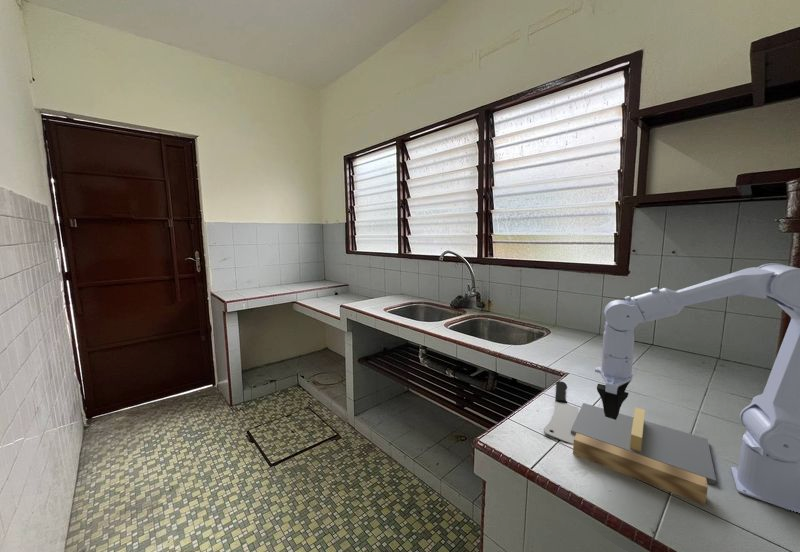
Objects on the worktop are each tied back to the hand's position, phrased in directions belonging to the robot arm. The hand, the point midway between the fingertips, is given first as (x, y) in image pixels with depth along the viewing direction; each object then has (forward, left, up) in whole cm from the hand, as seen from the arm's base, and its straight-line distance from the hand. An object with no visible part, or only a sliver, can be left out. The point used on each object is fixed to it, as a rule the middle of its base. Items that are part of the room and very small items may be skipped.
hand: (613, 409), depth 72 cm
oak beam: (-5, +6, -10) cm, 13 cm away
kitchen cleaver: (+11, -11, -10) cm, 19 cm away
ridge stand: (-5, -8, -10) cm, 13 cm away
